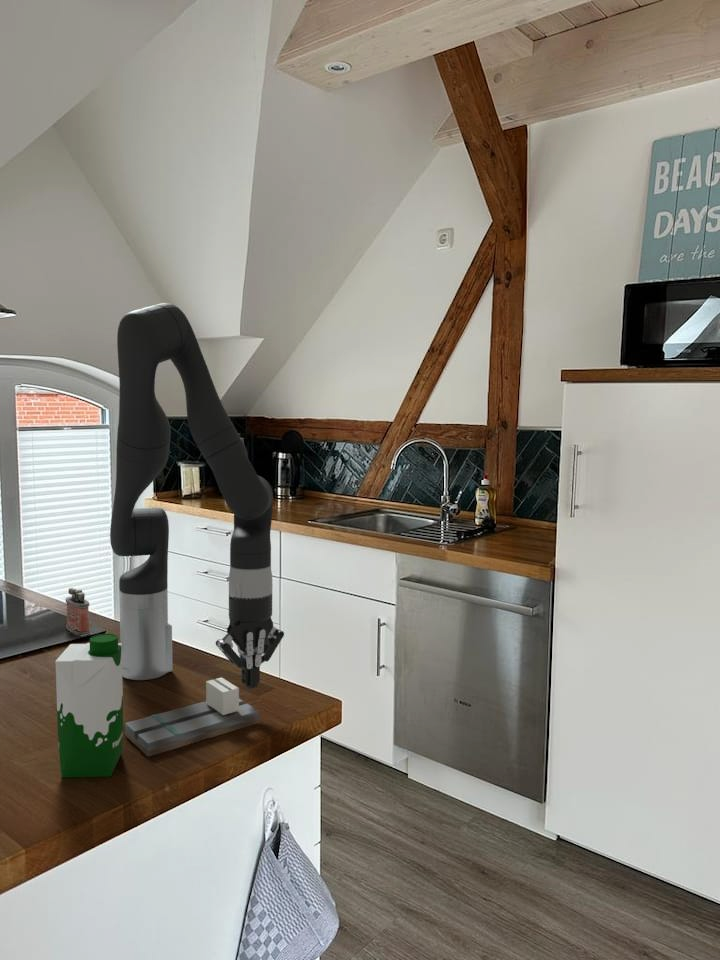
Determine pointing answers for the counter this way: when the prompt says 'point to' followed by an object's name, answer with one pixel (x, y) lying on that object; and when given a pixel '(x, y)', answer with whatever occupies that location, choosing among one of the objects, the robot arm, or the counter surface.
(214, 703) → the slider knob
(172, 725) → the slider panel
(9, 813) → the counter surface
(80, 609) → the lighter
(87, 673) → the milk carton
